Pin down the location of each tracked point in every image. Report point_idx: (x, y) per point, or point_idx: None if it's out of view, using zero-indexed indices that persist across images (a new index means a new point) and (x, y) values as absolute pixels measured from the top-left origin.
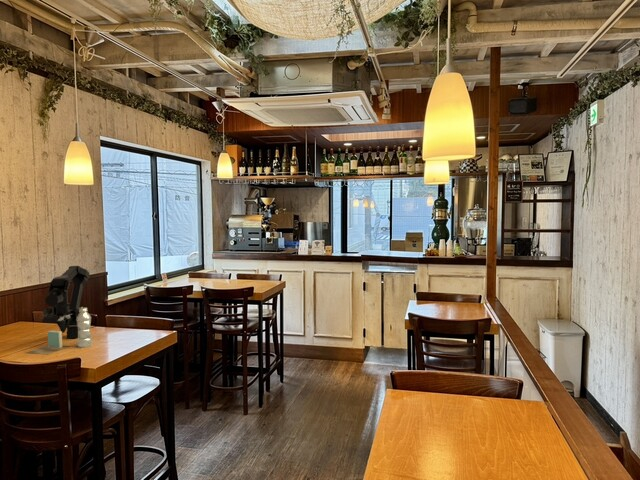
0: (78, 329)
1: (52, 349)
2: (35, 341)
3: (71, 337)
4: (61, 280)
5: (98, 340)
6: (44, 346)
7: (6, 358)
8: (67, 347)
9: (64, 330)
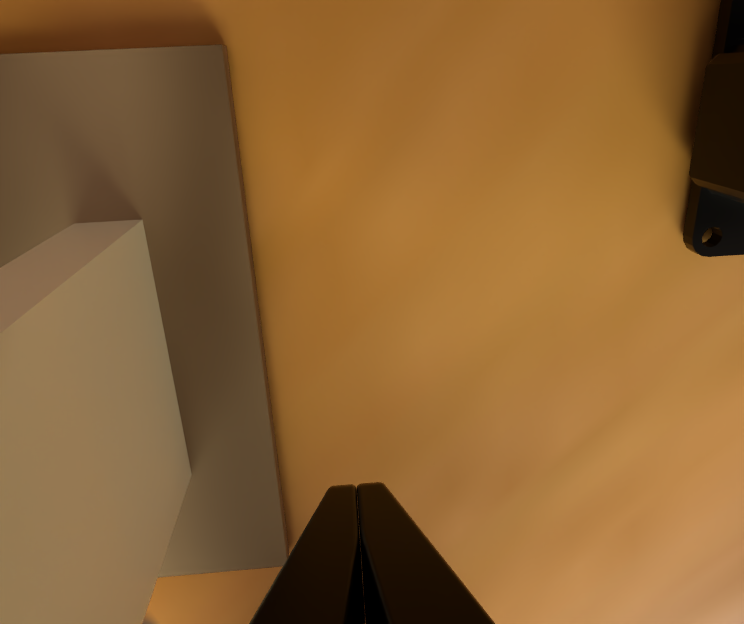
0: None
1: None
2: None
3: (723, 188)
4: None
5: (678, 614)
6: (69, 71)
7: None
8: (201, 568)
9: (365, 606)
